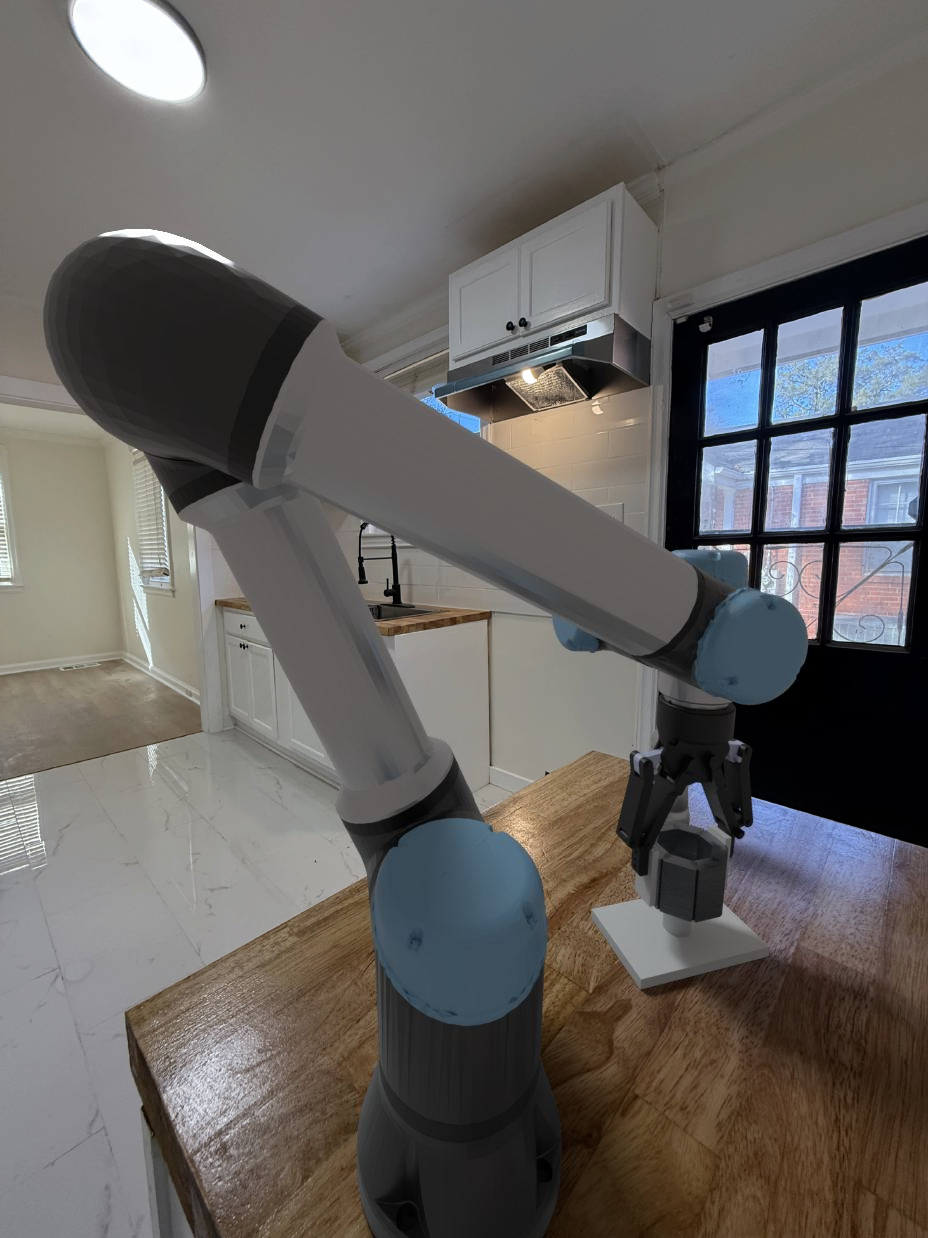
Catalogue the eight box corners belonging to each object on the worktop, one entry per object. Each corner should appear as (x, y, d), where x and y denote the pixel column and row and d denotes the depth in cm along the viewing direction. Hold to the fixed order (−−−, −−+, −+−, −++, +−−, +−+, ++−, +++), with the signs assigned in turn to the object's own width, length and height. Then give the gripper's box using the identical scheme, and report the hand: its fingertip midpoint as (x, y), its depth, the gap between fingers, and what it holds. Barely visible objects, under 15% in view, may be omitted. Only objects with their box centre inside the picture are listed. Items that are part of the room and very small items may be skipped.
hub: (672, 928, 52) (676, 875, 51) (626, 874, 60) (628, 828, 59) (741, 912, 54) (746, 861, 53) (687, 862, 62) (690, 817, 61)
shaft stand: (640, 989, 51) (645, 924, 50) (591, 917, 61) (594, 861, 59) (768, 956, 55) (775, 895, 54) (703, 894, 65) (708, 840, 64)
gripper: (626, 720, 47) (614, 934, 51) (808, 700, 52) (785, 895, 56) (587, 695, 54) (579, 884, 58) (750, 680, 59) (733, 854, 63)
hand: (680, 890), depth 57 cm, fingers closed on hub, 8 cm apart
